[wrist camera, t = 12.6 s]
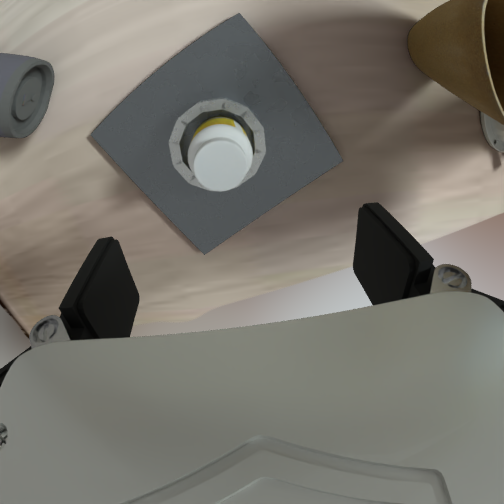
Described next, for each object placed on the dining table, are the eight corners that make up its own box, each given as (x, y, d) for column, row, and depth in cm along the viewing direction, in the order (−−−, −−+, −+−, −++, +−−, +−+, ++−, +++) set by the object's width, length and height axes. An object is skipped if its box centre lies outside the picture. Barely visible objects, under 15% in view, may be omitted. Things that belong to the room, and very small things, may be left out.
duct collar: (340, 158, 32) (353, 168, 29) (204, 250, 37) (203, 269, 34) (238, 15, 22) (241, 5, 19) (93, 132, 27) (79, 140, 24)
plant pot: (364, 64, 26) (463, 69, 12) (401, -22, 19) (492, -45, 5) (447, 125, 30) (537, 166, 17) (477, 46, 23) (564, 61, 10)
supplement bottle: (183, 144, 28) (168, 171, 20) (217, 104, 27) (216, 114, 18) (222, 174, 31) (224, 213, 23) (256, 137, 29) (273, 162, 21)
